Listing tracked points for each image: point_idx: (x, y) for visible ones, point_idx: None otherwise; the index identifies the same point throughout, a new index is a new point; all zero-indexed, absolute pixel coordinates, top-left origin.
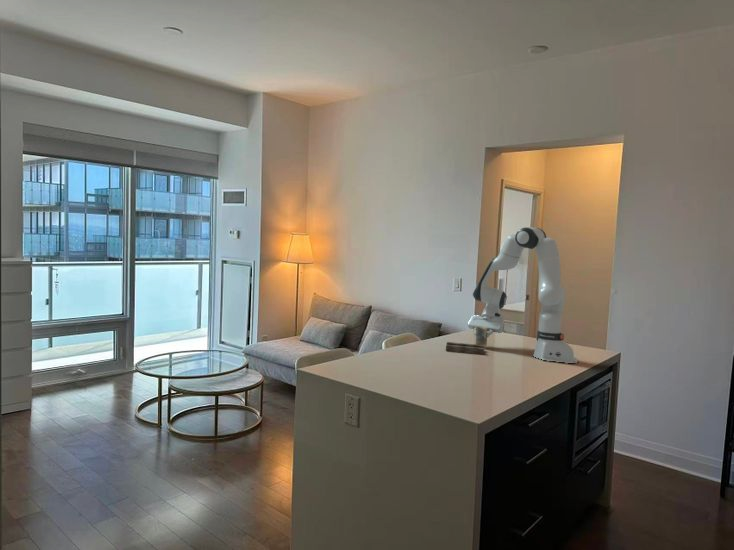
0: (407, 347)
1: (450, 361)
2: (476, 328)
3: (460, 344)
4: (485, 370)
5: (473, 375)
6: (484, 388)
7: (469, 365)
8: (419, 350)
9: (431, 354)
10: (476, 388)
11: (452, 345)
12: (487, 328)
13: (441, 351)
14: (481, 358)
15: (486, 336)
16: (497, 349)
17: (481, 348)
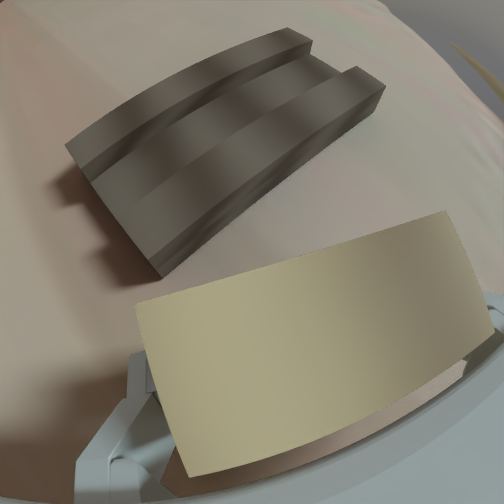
0: (390, 26)
1: (137, 10)
2: None
3: (293, 100)
4: (12, 54)
5: (31, 22)
6: (2, 22)
7: (64, 35)
8: (335, 16)
9: (257, 7)
10: (14, 13)
11: (274, 44)
12: (190, 465)
13: None
14: (60, 111)
15: None
16: None
17: (86, 137)
